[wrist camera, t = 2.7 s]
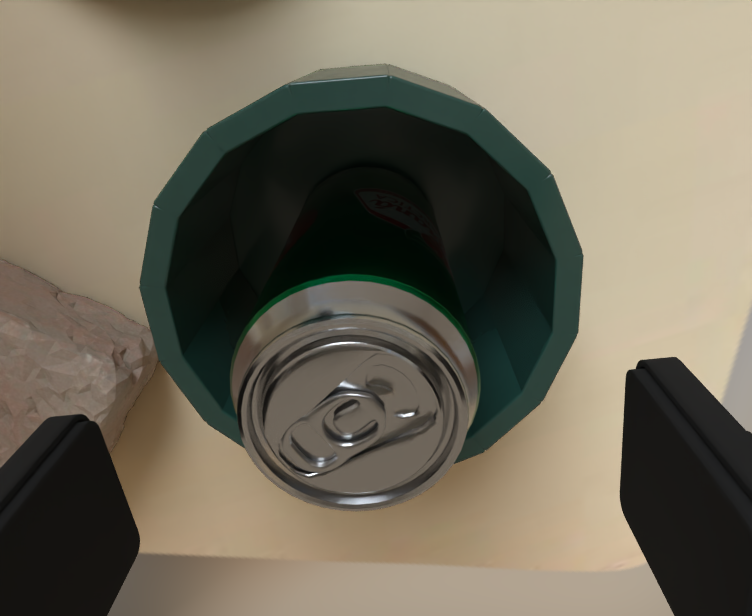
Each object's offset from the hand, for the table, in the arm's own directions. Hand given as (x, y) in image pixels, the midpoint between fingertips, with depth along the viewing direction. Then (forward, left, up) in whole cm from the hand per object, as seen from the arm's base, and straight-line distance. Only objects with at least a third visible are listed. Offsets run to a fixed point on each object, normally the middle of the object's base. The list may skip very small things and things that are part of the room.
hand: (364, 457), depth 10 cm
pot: (0, 0, -13) cm, 13 cm away
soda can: (0, 0, -13) cm, 13 cm away
